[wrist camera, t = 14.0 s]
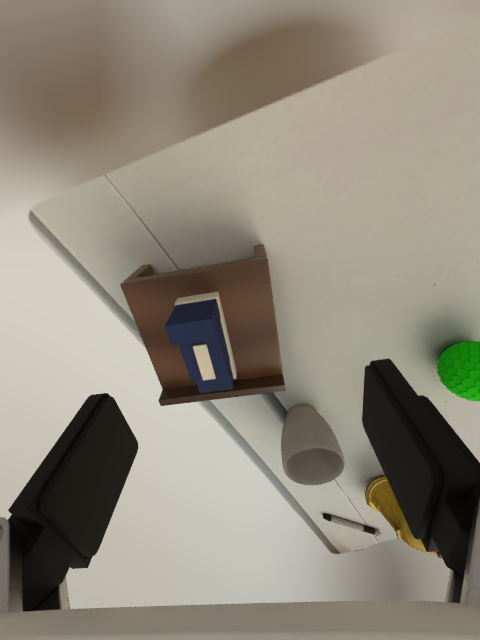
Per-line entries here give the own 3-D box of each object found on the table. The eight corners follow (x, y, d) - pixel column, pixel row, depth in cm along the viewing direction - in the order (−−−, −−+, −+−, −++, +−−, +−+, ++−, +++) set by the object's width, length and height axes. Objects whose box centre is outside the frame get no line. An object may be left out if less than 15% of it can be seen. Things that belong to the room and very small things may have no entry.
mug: (269, 405, 46) (274, 457, 38) (318, 390, 45) (336, 440, 36) (292, 448, 51) (301, 502, 43) (337, 435, 50) (357, 489, 41)
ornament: (485, 323, 38) (557, 367, 29) (480, 367, 42) (543, 418, 33) (424, 338, 40) (476, 384, 31) (424, 379, 43) (471, 431, 34)
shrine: (377, 457, 52) (423, 552, 39) (417, 463, 53) (474, 559, 40) (354, 491, 57) (387, 585, 44) (390, 496, 58) (433, 590, 45)
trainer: (177, 297, 30) (162, 324, 24) (218, 291, 29) (212, 316, 24) (201, 375, 35) (193, 411, 29) (236, 371, 34) (235, 406, 29)
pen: (324, 511, 62) (326, 518, 60) (382, 529, 65) (385, 535, 64) (321, 514, 62) (323, 520, 61) (378, 531, 65) (381, 538, 64)
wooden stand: (141, 265, 35) (111, 291, 27) (263, 244, 34) (269, 264, 26) (176, 363, 42) (160, 406, 35) (277, 349, 41) (285, 391, 33)
